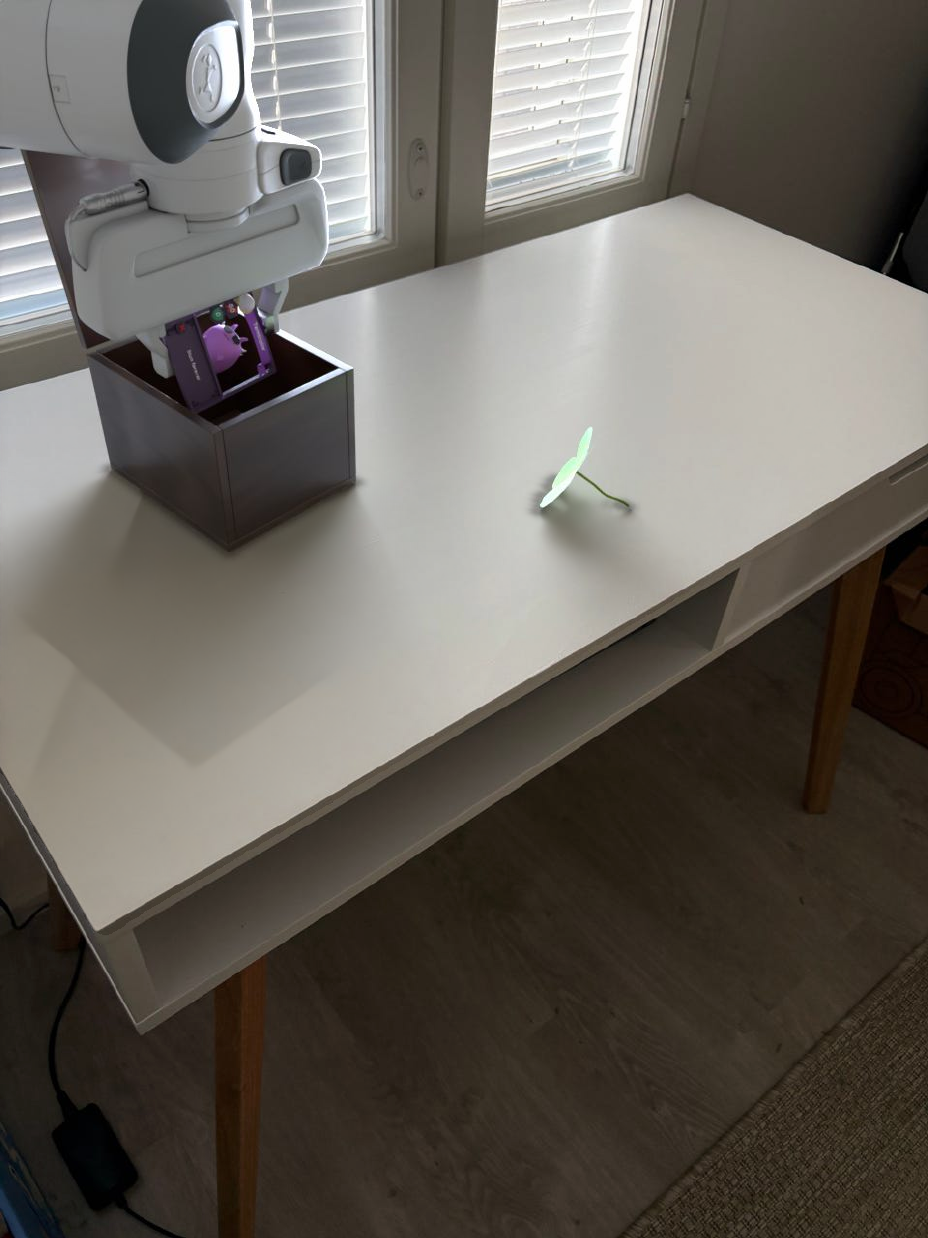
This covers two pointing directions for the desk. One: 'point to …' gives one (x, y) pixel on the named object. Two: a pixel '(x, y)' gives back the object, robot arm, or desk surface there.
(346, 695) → the desk surface
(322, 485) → the case
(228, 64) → the robot arm
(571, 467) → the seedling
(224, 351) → the game card
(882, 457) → the desk surface
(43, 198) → the cover
